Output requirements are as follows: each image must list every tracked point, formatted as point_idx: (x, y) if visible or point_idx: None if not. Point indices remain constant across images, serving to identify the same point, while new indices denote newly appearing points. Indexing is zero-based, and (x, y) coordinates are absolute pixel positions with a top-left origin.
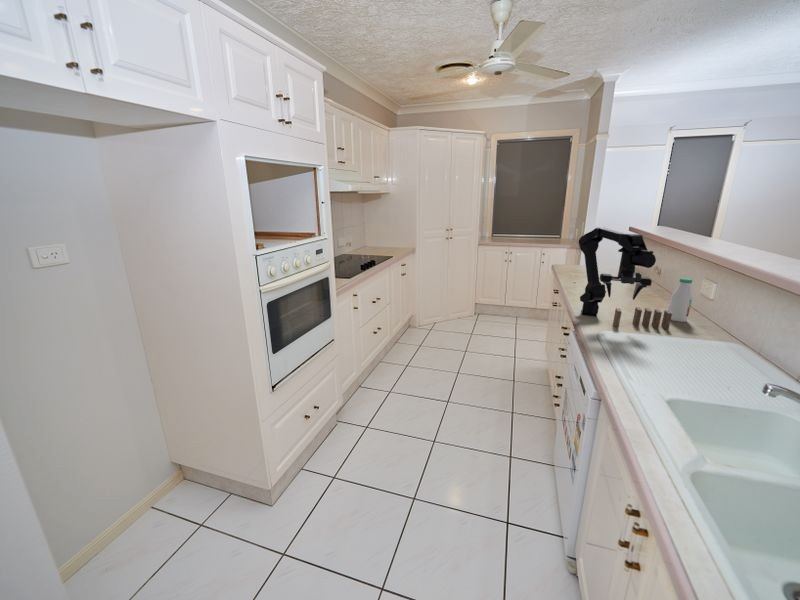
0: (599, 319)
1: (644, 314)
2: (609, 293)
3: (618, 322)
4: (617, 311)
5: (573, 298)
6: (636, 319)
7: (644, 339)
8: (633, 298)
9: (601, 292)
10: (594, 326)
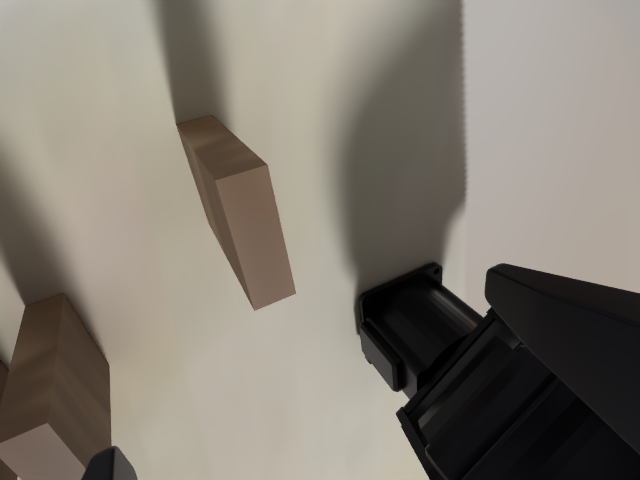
0: (337, 243)
1: (1, 469)
2: (575, 288)
3: (195, 133)
4: (264, 163)
5: None
6: (52, 335)
7: None
8: (108, 472)
9: (500, 447)
10: (366, 6)
